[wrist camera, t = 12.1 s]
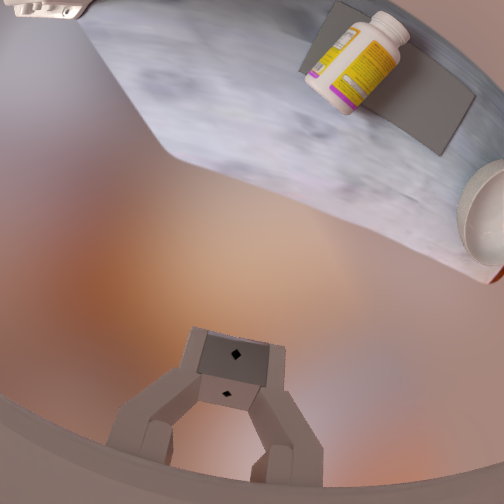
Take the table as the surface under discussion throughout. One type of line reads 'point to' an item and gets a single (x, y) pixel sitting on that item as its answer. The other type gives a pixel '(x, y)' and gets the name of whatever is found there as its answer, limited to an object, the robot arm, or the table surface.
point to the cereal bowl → (483, 215)
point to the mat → (403, 85)
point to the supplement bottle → (358, 62)
